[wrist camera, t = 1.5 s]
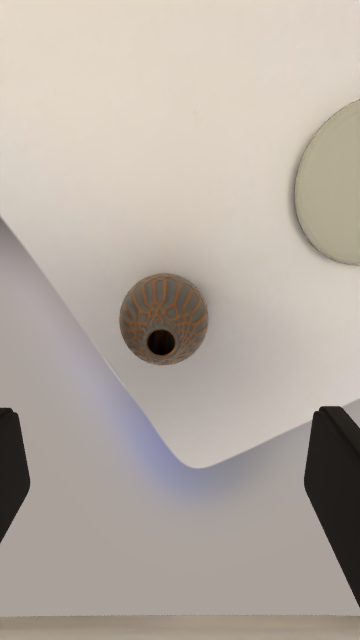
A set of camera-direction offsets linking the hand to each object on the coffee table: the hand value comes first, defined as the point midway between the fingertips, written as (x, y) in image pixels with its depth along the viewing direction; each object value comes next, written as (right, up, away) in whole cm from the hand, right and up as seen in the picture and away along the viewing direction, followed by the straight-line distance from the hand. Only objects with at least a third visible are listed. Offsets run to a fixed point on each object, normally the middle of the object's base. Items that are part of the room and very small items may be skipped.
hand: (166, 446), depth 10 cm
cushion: (+15, +15, +16) cm, 26 cm away
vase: (-1, +5, +19) cm, 20 cm away
